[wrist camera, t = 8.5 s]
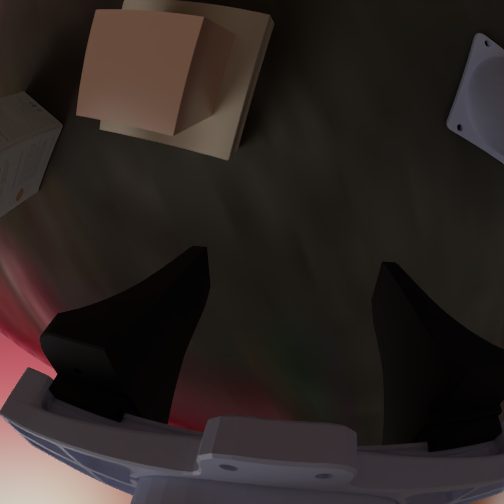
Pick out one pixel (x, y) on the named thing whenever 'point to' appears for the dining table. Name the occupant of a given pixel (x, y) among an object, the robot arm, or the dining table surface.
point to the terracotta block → (153, 69)
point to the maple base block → (233, 82)
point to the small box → (23, 147)
